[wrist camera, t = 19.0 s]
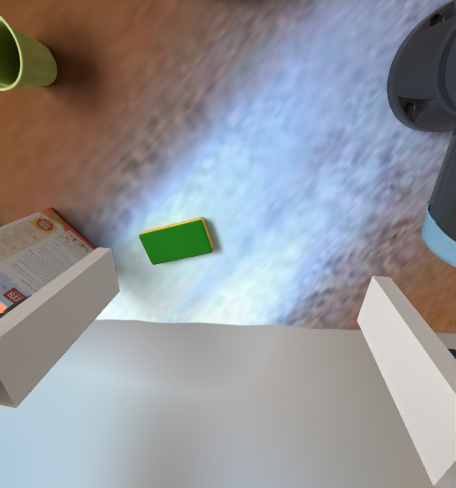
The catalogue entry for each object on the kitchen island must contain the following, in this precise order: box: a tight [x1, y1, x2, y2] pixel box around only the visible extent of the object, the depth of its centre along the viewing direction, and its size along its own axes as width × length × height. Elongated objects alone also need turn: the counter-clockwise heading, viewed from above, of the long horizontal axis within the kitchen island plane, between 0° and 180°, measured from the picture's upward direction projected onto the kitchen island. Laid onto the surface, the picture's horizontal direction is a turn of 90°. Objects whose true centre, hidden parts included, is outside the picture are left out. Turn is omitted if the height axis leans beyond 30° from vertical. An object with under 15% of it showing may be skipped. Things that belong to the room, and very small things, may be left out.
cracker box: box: [0, 208, 95, 313], centre depth 46 cm, size 14×6×21 cm, turn 41°
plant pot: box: [0, 15, 57, 91], centre depth 37 cm, size 9×9×9 cm
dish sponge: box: [139, 217, 214, 264], centre depth 51 cm, size 7×14×2 cm, turn 107°
